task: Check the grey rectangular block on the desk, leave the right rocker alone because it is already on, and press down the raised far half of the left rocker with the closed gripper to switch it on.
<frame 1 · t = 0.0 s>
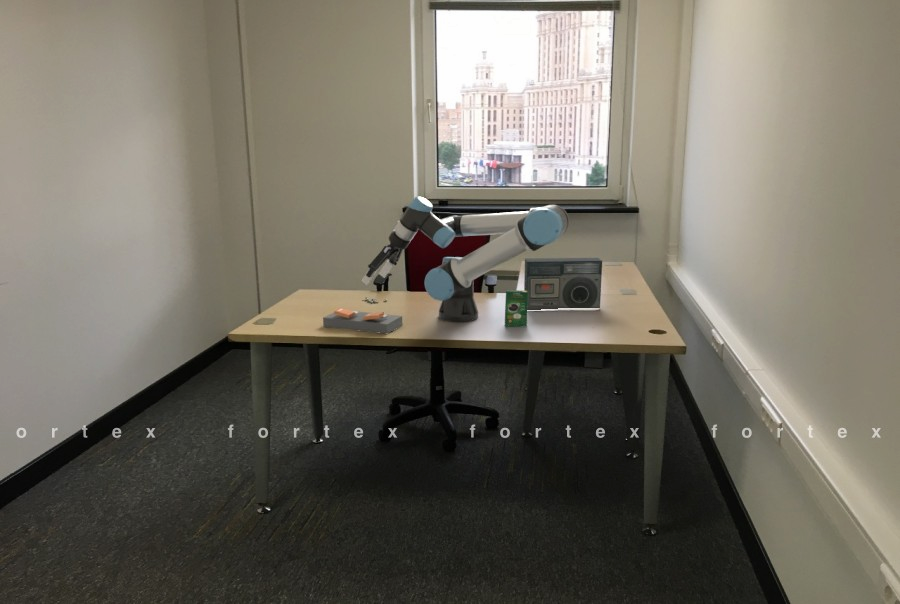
hand: (373, 279, 250), 15 cm above the table, tool tilted 35°, fingers open, 13 cm apart
cassette player: (561, 309, 267), on the table
rocker 1: (344, 312, 243), point 5 cm above the table, hinge at -10.0°
rocker 2: (373, 315, 239), point 5 cm above the table, hinge at 10.0°
coffee box: (515, 326, 243), on the table
grey rectangular block: (363, 326, 244), on the table
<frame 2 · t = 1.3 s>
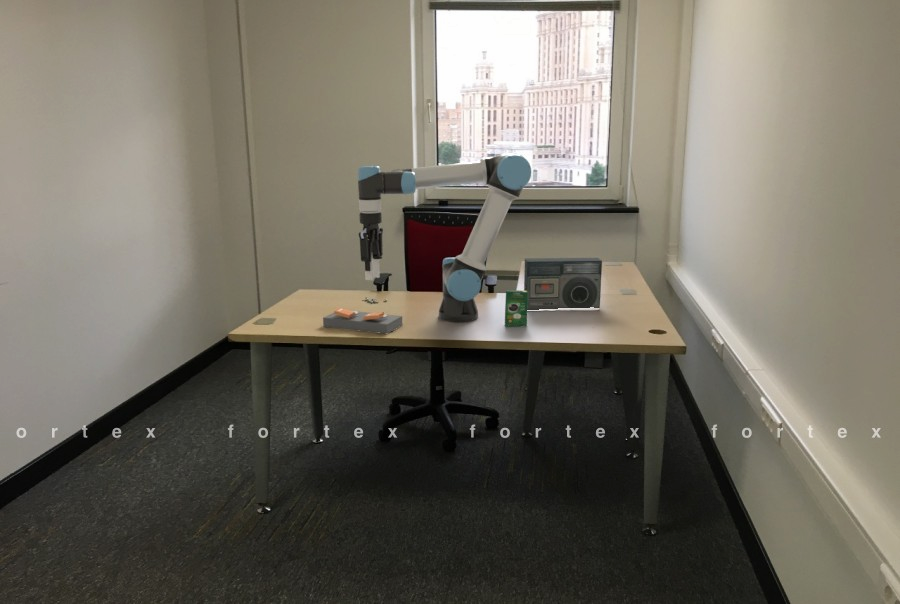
hand: (372, 278, 235), 19 cm above the table, tool pointing down, fingers open, 4 cm apart
nothing on the table moved.
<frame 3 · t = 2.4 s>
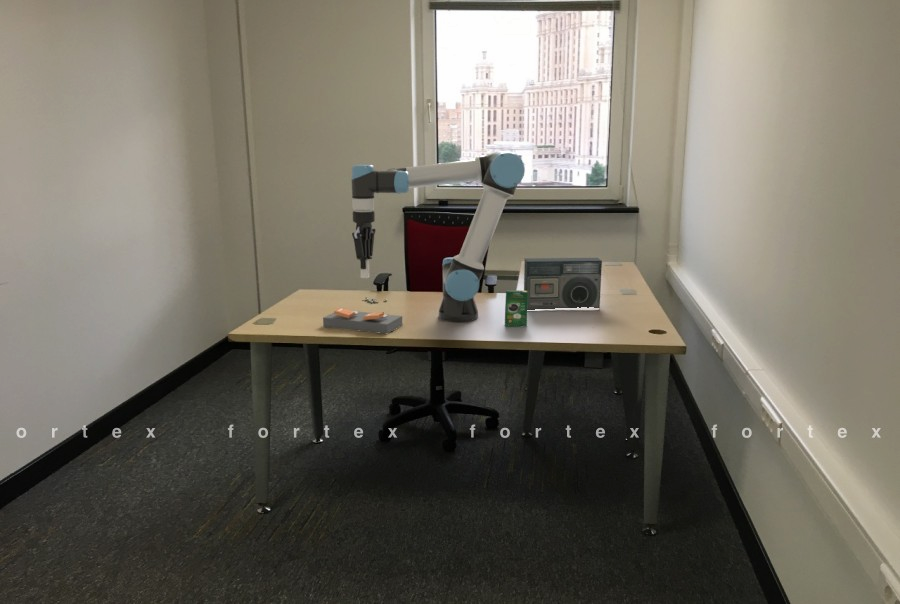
hand: (365, 277, 236), 19 cm above the table, tool pointing down, fingers closed
nothing on the table moved.
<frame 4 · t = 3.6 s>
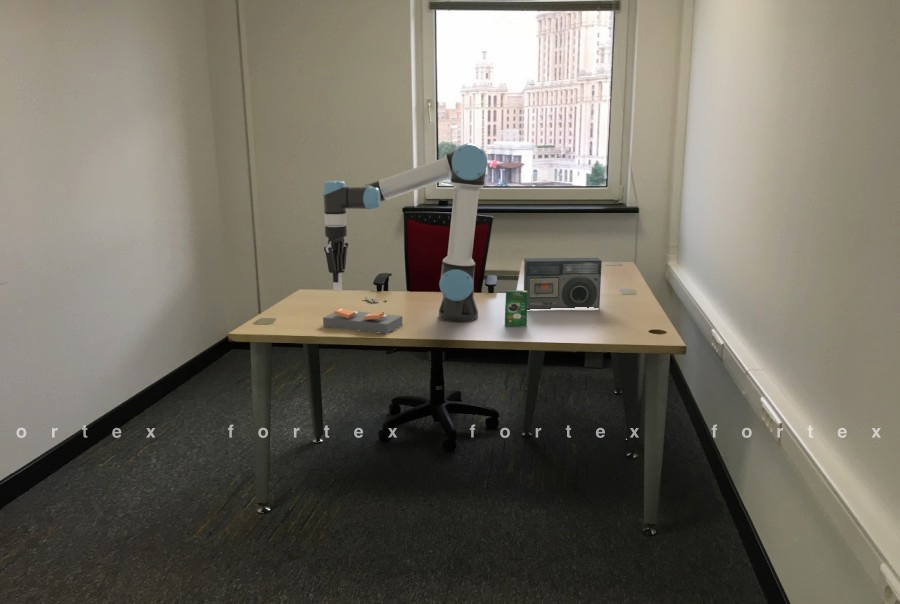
hand: (337, 290, 242), 13 cm above the table, tool pointing down, fingers closed
nothing on the table moved.
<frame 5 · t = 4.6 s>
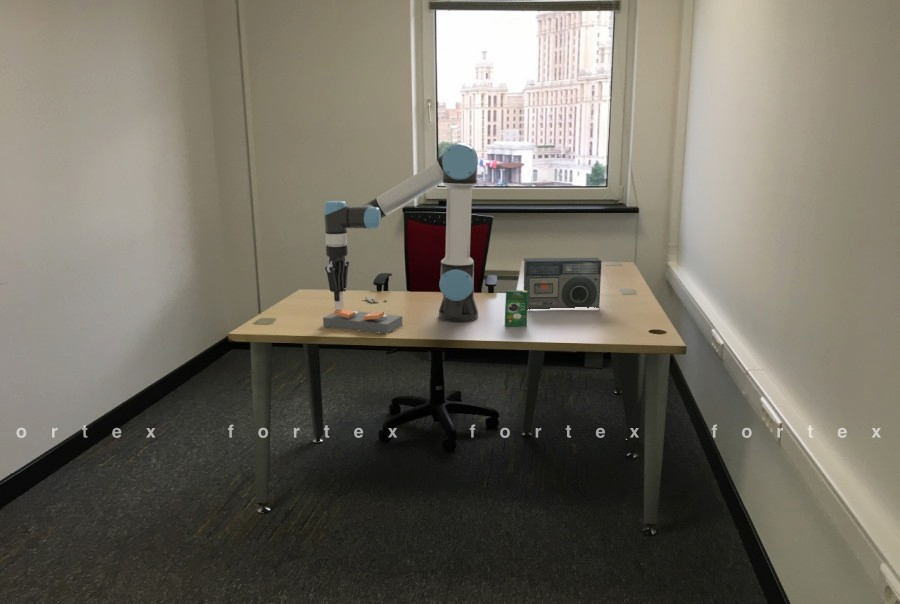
hand: (339, 309, 243), 6 cm above the table, tool pointing down, fingers closed
rocker 1: (344, 312, 243), point 5 cm above the table, hinge at -10.0°, touching gripper
everything else where it was.
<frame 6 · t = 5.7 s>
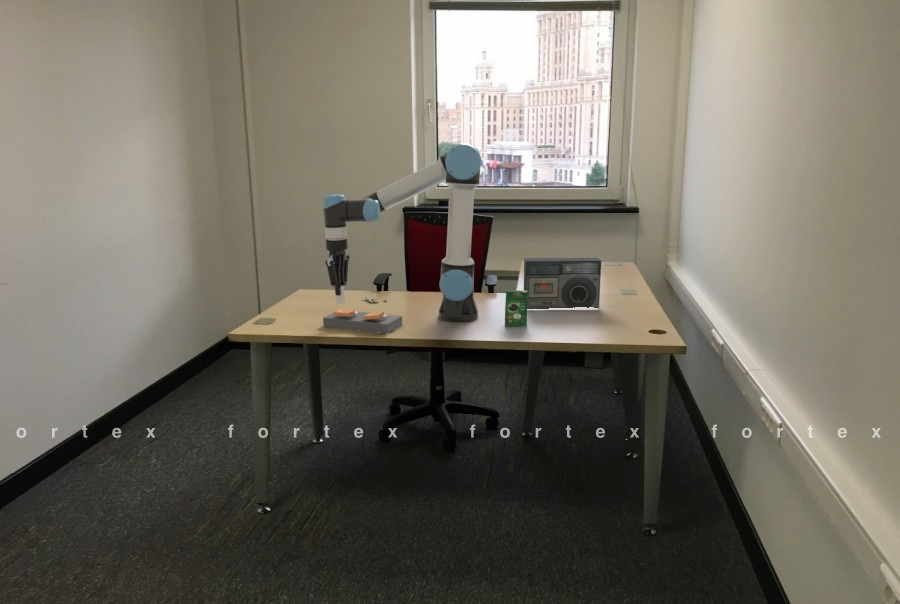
hand: (340, 303, 243), 8 cm above the table, tool pointing down, fingers closed
rocker 1: (344, 312, 243), point 5 cm above the table, hinge at 0.9°
everything else where it was.
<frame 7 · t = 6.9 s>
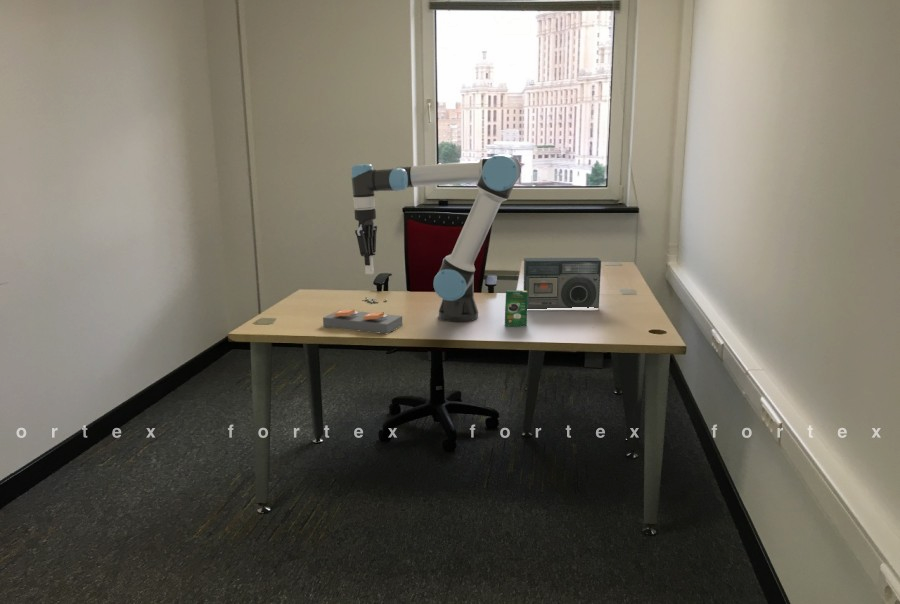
hand: (369, 273, 244), 19 cm above the table, tool pointing down, fingers closed
rocker 1: (344, 312, 243), point 5 cm above the table, hinge at 8.6°
everything else where it was.
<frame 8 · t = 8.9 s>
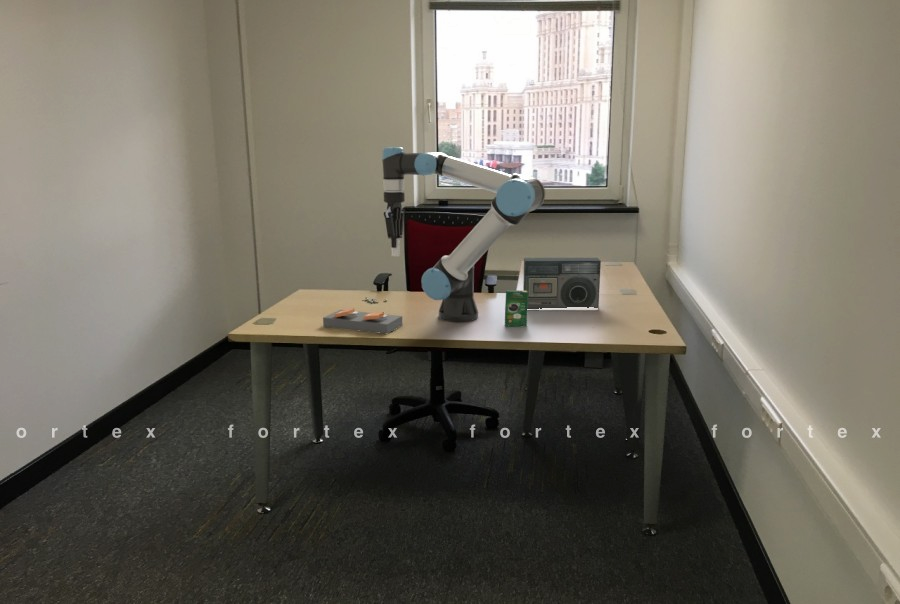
hand: (395, 255, 246), 24 cm above the table, tool pointing down, fingers closed
rocker 1: (344, 312, 243), point 5 cm above the table, hinge at 16.8°, touching grey rectangular block
everything else where it was.
at the end: rocker 1 at +17° (first picture: -10°); rocker 2 at +10° (first picture: +10°); the gripper is holding nothing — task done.
